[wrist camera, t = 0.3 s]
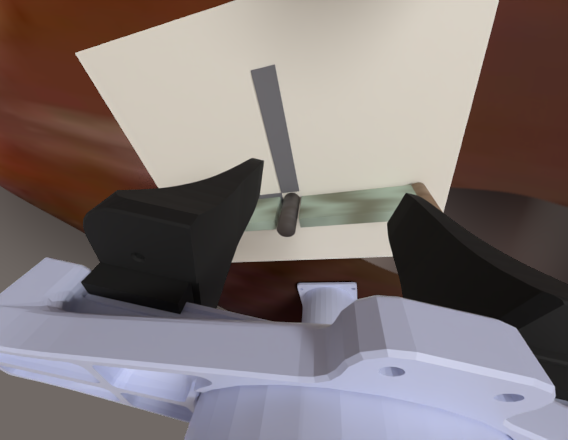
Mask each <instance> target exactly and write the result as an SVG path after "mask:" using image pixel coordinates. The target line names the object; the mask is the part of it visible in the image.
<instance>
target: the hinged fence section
mask: <svg viewBox="0 0 568 440" xmlns="http://www.w3.org/2000/svg"><path fill="white" fill-rule="evenodd" d="M405 193H410V194H414V195H418V196H420V197H422V198H423V199H425V200H427V201H428V202H429V203H431V204H432V205H434V206H435V207H436V208H438V209H439V210H440V211H442V210H441V209H440V207H439V206H438V204H437V203H436V201H435V200H434V198H433V197H432V195H431V194H430V192H429V191H428V189H427V188H426V186H425V185H424V184H423V183H421V182H417V183H414V184H412V185H406V186H397V187H387V188H377V189H367V190H358V191H348V192H338V193H328V194H319V195H309V196H302V198H301V206H300V213H299V223H300V227H301V228H302V227H316V226H331V225H345V224H359V223H373V222H388V221H389V219H390V218H391V216H392V214H393V213H394V211H395V209H396V208H397V206H398V205H399V203H400V201H401V200H402V198H403V196H404V195H405Z"/></svg>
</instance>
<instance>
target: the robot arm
mask: <svg viewBox="0 0 568 440" xmlns="http://www.w3.org/2000/svg"><path fill="white" fill-rule="evenodd" d="M263 167H264V160H260V159H255V158H251V159H249V160H247V161H245V162H243V163H241V164H239V165H237V166H235V167H233V168H231V169H229V170H227V171H225V172H222V173H220V174H218V175H216V176H213V177H210V178H207V179H204V180H200V181H197V182H193V183H188V184H183V185H178V186H172V187H165V188H156V189H142V190H117V191H116V192H115V193H113V194H112V195H111V196H109V197H108V198H106V199H105V200H104V201H102V202H101V203H100V204H98V205H97V206H96V207H94V208H93V209H92V210H90V211H89V212H88V213H87V214H86V216H85V217H84V219H83V228H84V231H85V234H86V236H87V238H88V240H89V242H90V244H91V246H92V248H93V250H94V252H95V253H96V255H97V257H98V259H99V261H100V263H99V264H98V265H97V266H96V267H95V268H94V270H91V269H89V268H88V267H86V266H84V265H81V264H77V263H73V262H68V261H64V260H59V259H55V258H50V257H49V258H45V259H43V260H42V261H41V262H40V263H38V264H37V265H36V266H35V267H33V268H32V269H31V270H29V271H28V272H27V273H26V274H24V275H23V276H22V277H21V278H19V279H18V280H17V281H16V282H14V283H13V284H12V285H11V286H9V287H8V288H7V289H6V290H4V291H3V292H2V293H0V370H2V371H4V372H6V373H7V374H9V375H13V376H17V377H21V378H25V379H30V380H34V381H38V382H43V383H47V384H51V385H55V386H59V387H62V388H66V389H70V390H74V391H78V392H81V393H85V394H89V395H92V396H96V397H100V398H103V399H107V400H110V401H114V402H117V403H121V404H124V405H128V406H131V407H135V408H139V409H142V410H145V411H149V412H153V413H156V414H160V415H163V416H167V417H171V418H174V419H177V420H181V421H184V422H188V423H189V426H188V429H187V432H186V435H185V438H184V440H568V284H566V283H564V282H561V281H559V280H557V279H555V278H553V277H551V276H548V275H546V274H544V273H542V272H540V271H538V270H535V269H533V268H531V267H529V266H527V265H525V264H523V263H521V262H519V261H518V260H516V259H513V258H512V257H510V256H508V255H506V254H504V253H503V252H501V251H499V250H497V249H496V248H494V247H492V246H491V245H489V244H487V243H486V242H484V241H482V240H481V239H479V238H478V237H476V236H475V235H473V234H472V233H470V232H469V231H467V230H466V229H465V228H463V227H461V226H460V225H459V224H458V223H456V222H455V221H453V220H452V219H451V218H449V217H448V216H447V215H445V214H444V213H443V212H442V211H440V210H439V209H438V208H436V207H435V206H434V205H432V204H431V203H429V202H428V201H427V200H425V199H423V198H422V197H420V196H418V195H414V194H410V193H405V195H404V196H403V198H402V200H401V201H400V203H399V205H398V206H397V208H396V209H395V211H394V213H393V214H392V216H391V218H390V219H389V221H388V222H387V231H388V239H389V243H390V247H391V251H392V254H393V258H394V261H395V264H396V268H397V271H398V275H399V279H400V283H401V288H402V294H403V298H402V297H396V296H381V295H375V296H370V297H366V298H362V299H357V284H356V283H355V282H321V283H298V284H297V288H298V291H299V295H300V298H301V302H302V306H303V312H302V323H292V322H273V321H269V320H264V319H260V318H256V317H251V316H247V315H242V314H238V313H233V312H229V311H224V310H220V309H216V308H217V305H218V302H219V299H220V295H221V292H222V289H223V286H224V283H225V280H226V277H227V274H228V271H229V268H230V265H231V263H232V260H233V257H234V254H235V251H236V249H237V246H238V244H239V241H240V239H241V237H242V235H243V233H244V231H245V229H246V227H247V225H248V223H249V221H250V219H251V217H252V215H253V213H254V211H255V208H256V205H257V202H258V199H259V196H260V190H261V182H262V174H263Z"/></svg>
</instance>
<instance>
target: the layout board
mask: <svg viewBox="0 0 568 440" xmlns="http://www.w3.org/2000/svg"><path fill="white" fill-rule="evenodd" d="M498 2H499V0H235V1H232V2H229V3H226V4H223V5H220V6H217V7H214V8H211V9H208V10H205V11H202V12H199V13H196V14H193V15H190V16H187V17H184V18H180V19H177V20H174V21H171V22H168V23H165V24H162V25H159V26H156V27H153V28H150V29H147V30H144V31H141V32H138V33H135V34H132V35H129V36H126V37H123V38H120V39H116V40H113V41H110V42H107V43H104V44H101V45H98V46H95V47H92V48H89V49H86V50H83V51H80V52H77V53H75V54H76V56H77V57H78V59H79V60H80V62H81V64H82V65H83V67H84V68H85V70H86V72H87V73H88V75H89V77H90V78H91V80H92V81H93V83H94V85H95V86H96V88H97V89H98V91H99V93H100V94H101V96H102V98H103V99H104V101H105V102H106V104H107V106H108V107H109V109H110V110H111V112H112V114H113V115H114V117H115V119H116V120H117V122H118V123H119V125H120V127H121V128H122V130H123V131H124V133H125V135H126V136H127V138H128V140H129V141H130V143H131V144H132V146H133V148H134V149H135V151H136V152H137V154H138V156H139V157H140V159H141V161H142V162H143V164H144V165H145V167H146V169H147V170H148V172H149V173H150V175H151V177H152V178H153V180H154V182H155V183H156V185H157V186H158V188H165V187H172V186H178V185H183V184H188V183H193V182H197V181H200V180H204V179H207V178H210V177H213V176H216V175H218V174H220V173H222V172H225V171H227V170H229V169H231V168H233V167H235V166H237V165H239V164H241V163H243V162H245V161H247V160H249V159H251V158H255V159H260V160H264V167H263V174H262V182H261V190H260V196H259V199H264V198H274V197H280V198H281V201H282V205H283V201H284V197H285V195H286V194H288V193H296V194H297V195H298V196H299V197H300V204H299V211H298V217H297V224H296V231H295V234H294V235H293V236H291V237H283V236H281V235H280V234H279V233H278V232H277V229H274V230H260V231H245V232H244V233H243V235H242V237H241V239H240V241H239V244H238V246H237V249H236V251H235V254H234V257H233V260H232V262H255V261H283V260H310V259H337V258H364V257H388V256H389V257H391V256H393V254H392V251H391V247H390V243H389V239H388V231H387V222H373V223H359V224H345V225H331V226H316V227H302V228H301V227H300V223H299V213H300V206H301V198H302V196H309V195H319V194H328V193H338V192H348V191H358V190H367V189H377V188H387V187H397V186H406V185H412V184H414V183H417V182H421V183H423V184H424V185H425V186H426V188H427V189H428V191H429V192H430V194H431V195H432V197H433V198H434V200H435V201H436V203H437V204H438V206H439V207H440V209H441V210H442V212H444V208H445V204H446V200H447V196H448V193H449V189H450V185H451V181H452V177H453V174H454V170H455V166H456V162H457V158H458V154H459V151H460V147H461V143H462V139H463V135H464V132H465V128H466V124H467V120H468V116H469V113H470V109H471V105H472V101H473V97H474V94H475V90H476V86H477V82H478V78H479V74H480V71H481V67H482V63H483V59H484V55H485V52H486V48H487V44H488V40H489V36H490V33H491V29H492V25H493V21H494V17H495V14H496V10H497V6H498Z"/></svg>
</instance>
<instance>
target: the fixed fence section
mask: <svg viewBox="0 0 568 440" xmlns="http://www.w3.org/2000/svg"><path fill="white" fill-rule="evenodd" d="M299 204H300V197H299V196H298V195H297V194H296V193H288V194H286V195H285V197H284V201H283V205H282V201H281V198H280V197H274V198H264V199H258V202H257V205H256V208H255V211H254V213H253V215H252V217H251V219H250V221H249V223H248V225H247V227H246V229H245V231H260V230H274V229H277V232H278V233H279V234H280V235H281V236H283V237H291V236H293V235H294V234H295V231H296V224H297V217H298V211H299ZM245 231H244V232H245Z"/></svg>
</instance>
